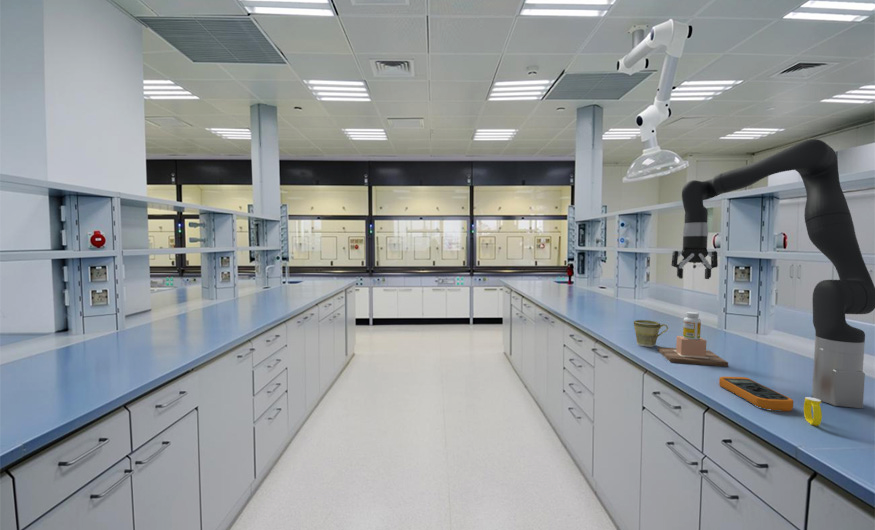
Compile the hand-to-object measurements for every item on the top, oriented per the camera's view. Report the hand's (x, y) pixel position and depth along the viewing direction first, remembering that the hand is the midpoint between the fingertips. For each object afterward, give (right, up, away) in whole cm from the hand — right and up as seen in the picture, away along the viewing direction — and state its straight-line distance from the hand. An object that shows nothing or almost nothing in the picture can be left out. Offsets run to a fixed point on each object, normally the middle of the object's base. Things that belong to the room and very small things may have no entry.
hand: (693, 278), depth 141 cm
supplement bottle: (0, -23, +1) cm, 23 cm away
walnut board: (0, -30, +2) cm, 30 cm away
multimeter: (-7, -33, -36) cm, 49 cm away
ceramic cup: (-5, -29, +20) cm, 36 cm away
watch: (-6, -33, -51) cm, 61 cm away
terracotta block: (0, -29, +1) cm, 29 cm away
